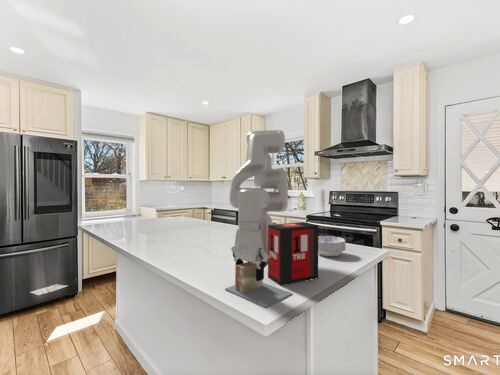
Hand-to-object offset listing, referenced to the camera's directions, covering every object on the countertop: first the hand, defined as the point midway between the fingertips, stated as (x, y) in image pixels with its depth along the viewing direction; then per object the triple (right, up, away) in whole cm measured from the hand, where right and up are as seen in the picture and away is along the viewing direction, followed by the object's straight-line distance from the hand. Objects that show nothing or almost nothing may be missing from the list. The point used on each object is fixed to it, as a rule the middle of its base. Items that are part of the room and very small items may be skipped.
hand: (249, 276), depth 89 cm
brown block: (0, -4, 0) cm, 4 cm away
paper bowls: (+40, -4, +43) cm, 59 cm away
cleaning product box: (+16, -4, +10) cm, 20 cm away
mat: (+3, -4, -3) cm, 6 cm away
